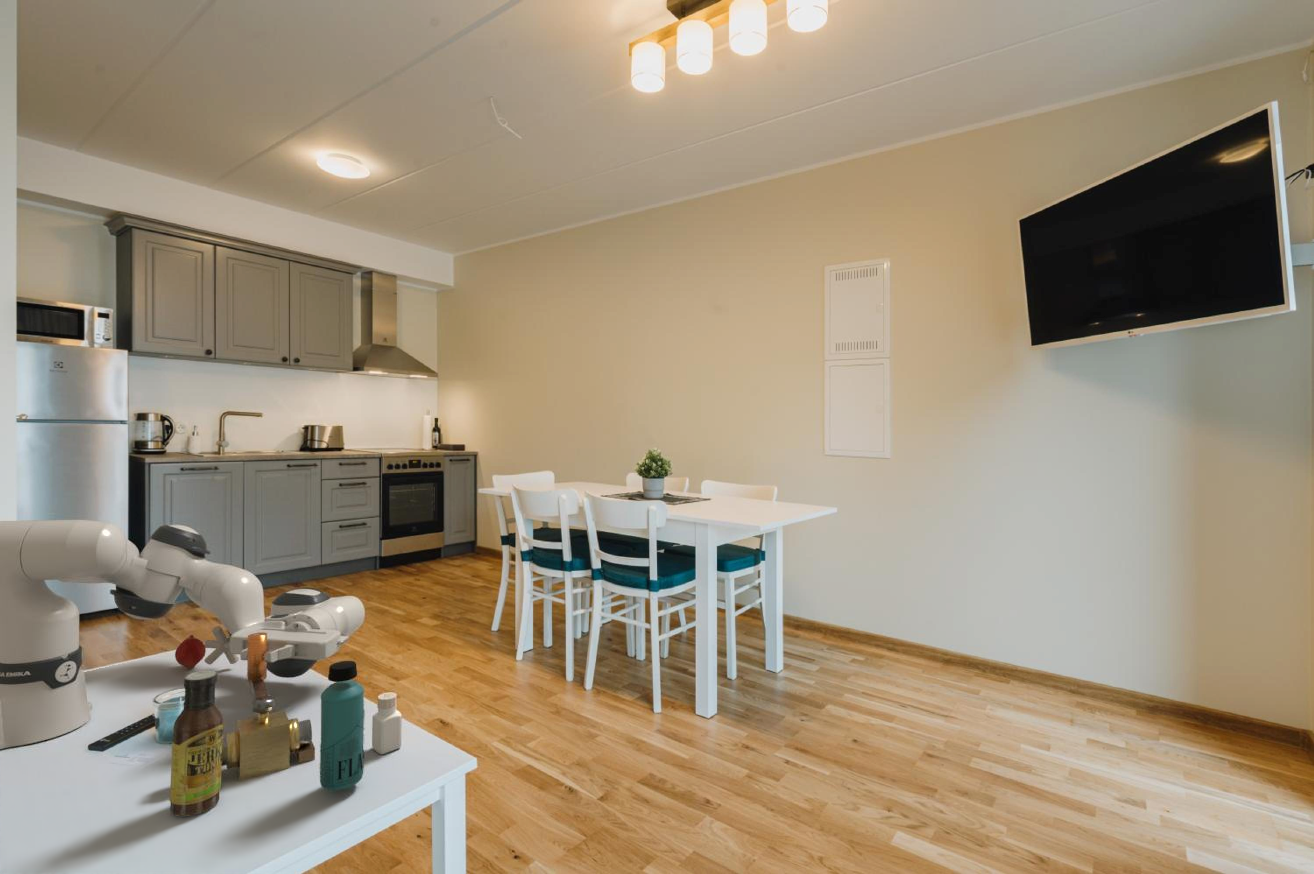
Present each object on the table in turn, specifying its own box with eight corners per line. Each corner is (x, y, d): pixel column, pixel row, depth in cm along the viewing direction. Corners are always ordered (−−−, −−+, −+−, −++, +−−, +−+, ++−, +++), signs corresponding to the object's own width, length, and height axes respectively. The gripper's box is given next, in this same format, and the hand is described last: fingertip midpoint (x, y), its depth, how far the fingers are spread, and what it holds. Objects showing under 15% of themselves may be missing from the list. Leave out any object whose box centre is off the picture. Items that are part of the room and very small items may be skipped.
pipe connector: (235, 679, 144) (216, 646, 140) (199, 676, 146) (180, 643, 142) (267, 646, 153) (250, 614, 148) (233, 643, 155) (215, 612, 151)
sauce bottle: (187, 823, 92) (189, 686, 92) (159, 813, 94) (161, 679, 94) (231, 800, 98) (233, 671, 97) (204, 790, 100) (205, 664, 100)
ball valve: (182, 796, 98) (182, 735, 98) (181, 779, 103) (181, 720, 103) (315, 760, 110) (315, 705, 110) (309, 746, 114) (309, 693, 114)
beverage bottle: (334, 805, 97) (335, 674, 97) (309, 791, 100) (311, 665, 100) (373, 785, 102) (374, 661, 102) (348, 773, 106) (350, 653, 106)
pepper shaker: (370, 748, 114) (371, 695, 114) (392, 740, 117) (393, 689, 117) (380, 756, 111) (381, 702, 111) (402, 748, 114) (403, 695, 114)
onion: (168, 671, 147) (168, 637, 147) (190, 663, 153) (190, 629, 153) (190, 673, 146) (190, 639, 146) (211, 665, 152) (212, 631, 152)
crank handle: (275, 709, 107) (276, 655, 107) (253, 714, 105) (253, 658, 105) (266, 680, 119) (266, 631, 119) (245, 684, 117) (246, 634, 117)
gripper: (354, 652, 129) (307, 678, 115) (262, 645, 131) (206, 670, 118) (354, 620, 129) (308, 643, 115) (262, 614, 131) (206, 636, 118)
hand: (255, 657), depth 116 cm, fingers open, 3 cm apart
